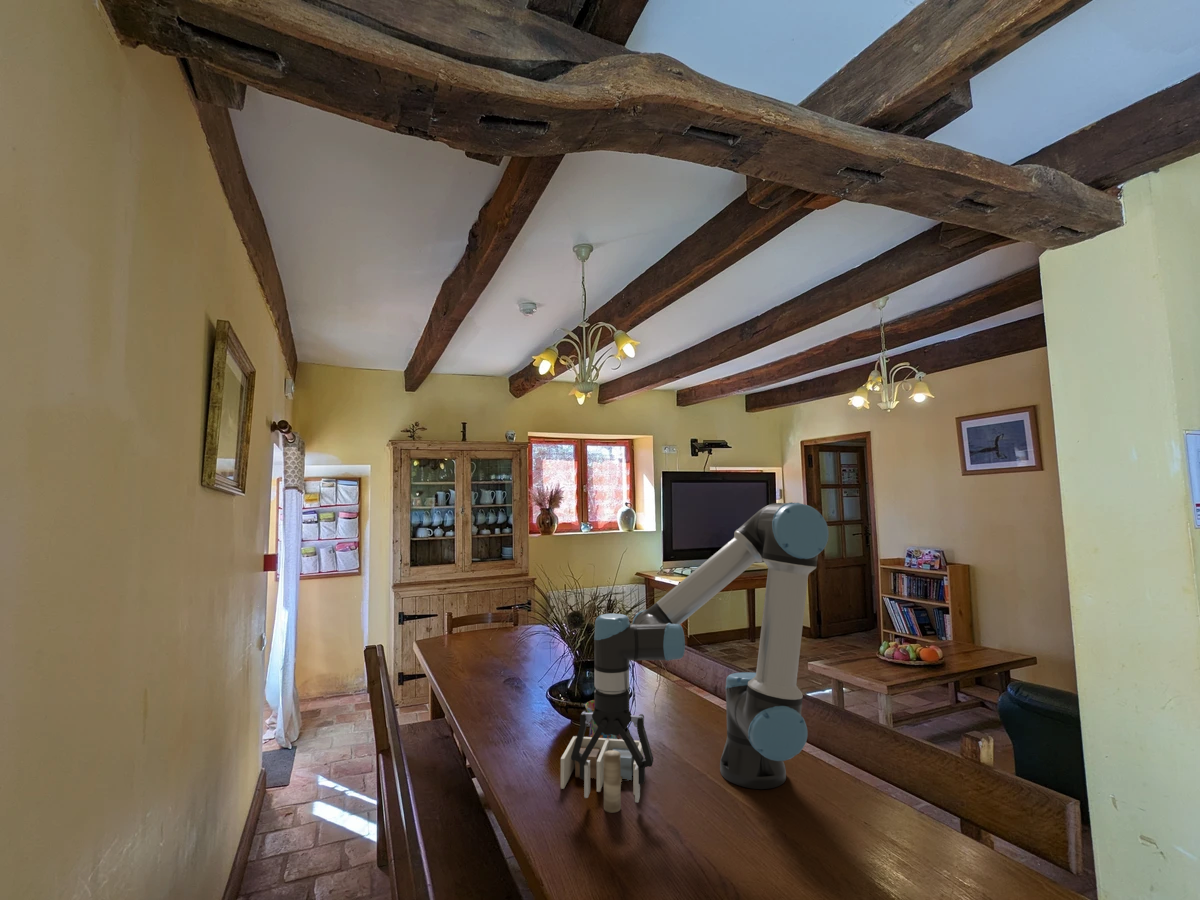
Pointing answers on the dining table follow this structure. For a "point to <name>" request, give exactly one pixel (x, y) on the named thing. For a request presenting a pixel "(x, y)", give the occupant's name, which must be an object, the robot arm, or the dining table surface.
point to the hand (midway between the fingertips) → (612, 796)
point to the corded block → (616, 776)
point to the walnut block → (593, 762)
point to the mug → (593, 726)
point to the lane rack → (604, 746)
